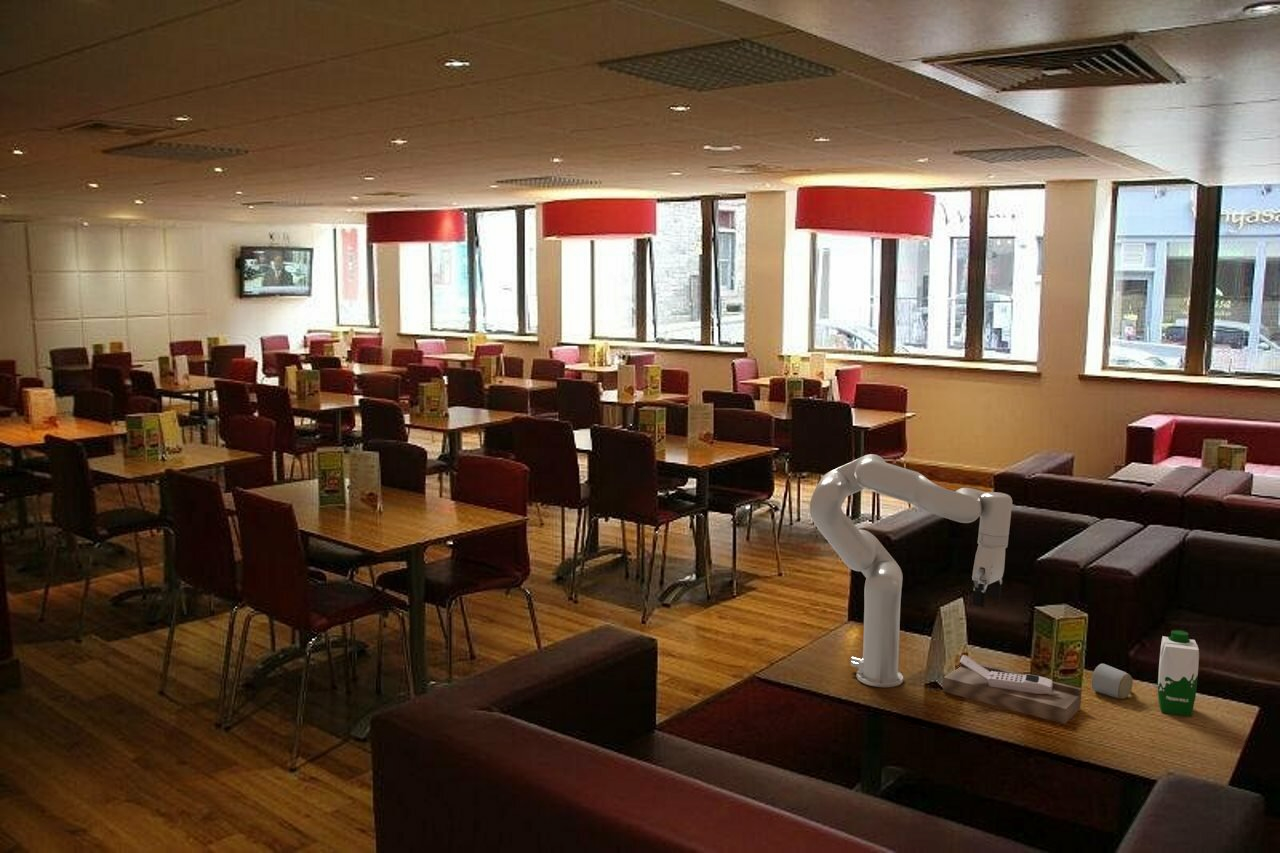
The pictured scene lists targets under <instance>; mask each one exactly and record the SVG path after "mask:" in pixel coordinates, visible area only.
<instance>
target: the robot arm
mask: <svg viewBox="0 0 1280 853" xmlns="http://www.w3.org/2000/svg"><path fill="white" fill-rule="evenodd" d="M863 490H866V491H870V492H873V493H876V494H880V495H882V496H886V497H889V498H893V499H896V500H899V501H902V502H906V503H908V504H910V505H912V506H913V507H917V508H919V509H921V510H923V511H926V512H927V513H930V514H933V515H935V516H938V517H941V518H945V519H948V520H951V521H954V522H958V523H963V524H969V523H970V524H971V523H973V522H975V521H976V520H977V519H978V518H979V526H978V537H977V544H978V546H977V550H976V552H975V558H974V563H973V569H972V576H971V578H972V581H973V595H972V596H973V597H972V605H973V606H976V607H980V608H985V607H986V599H987V597H988V598H990V599H995V600H1000V599H1001V593H1002V584H1003V577H1004V573H1005V563H1006V562H1005V561H1006V549H1007V548H1008V545H1009V535H1010V526H1011V517H1012V507H1013V499H1012V497H1011V495H1009V494H1008V493H1003V492H999V491H998V492H995V491H990V492H988V491H983V490H979V489H977V488H976V489H975V488H971V487H961V488H958V489H957V490H951V489H948V488H945V487H943V486H940V485H937V484H936V483H934V482H933V481H931V480H930V479H928V478H927V477H926V476H925V475H923V474H921V473H920V472H918V471H915V470H912V469H907V468H905V467H901V466H899V465H895V464H892V463H888V462H886V460H885V459H884V458H883V457H882V456H880V455H878V454H873V453H870V454H865V455H863V456H861V457H859V458H857V459H854V460H851V461H850V462H848V463H845V464H843V465H841V466H838V467H837V468H835V469H832V470H830V471H828V472H826V473H825V474H824V475H823V476H822V477H821V479H820V480H819V482H818V483H817V484H816V487H815V488H814V490H813V493H812V496H811V498H810V501H809V514H810V517H811V519H812V522H813V523H814V526H815V527H816V528H817V529H818V531H819V532H820V533H821V535H822V536H823V537H824V538H825V540H826V541H827V543H828V544H829V545H830V547H831V548H832V549H833V551H834V552H836V554H837V555H838V556H839V558H840V559H841V560H842V561H843V564H845V565H846V567H848V568H849V569H850V570H853V571H854V572H861V573H862V574H863V576H864V577H865V578H866V579H865V583H864V589H863V590H864V595H863V596H864V606H863V607H864V610H863V611H864V612H863V639H862V640H863V645H862V658H859V657H856V656H851V658H850V666H851V667H854V668H858V670H857V671H856V678H857V680H858V681H859V682H860V683H862V684H864V685H867V686H871V687H876V688H895V687H897V686H900V685H902V683H903V682H904V676H903V674H902V673H901V672H900V671H898V670H899V652H900V651H899V648H900V628H901V627H900V624H901V623H900V621H901V599H902V587H903V580H904V579H903V572H902V569H901V566H899V564H898V563H897V561H896V560H895V559H894V557H892V555H891V554H890V552H888V550H887V549H886V548H885V547H884V545H883V544H882V542H880V541H879V539H878V538H877V537H876V536H875V535H874V534H873V533H871V532H870V531H868V530H865V529H858V528H857V527H856V525H855V524H854V523H853V521H852V520H851V518H849V517H848V515H846V514H845V513H844V511H843V509H842V505H843V504H844V502H845V501H846V499H847V497H849V496H852V495H853V494H856V493H858V492H861V491H863ZM987 588H988V590H987ZM986 590H987V592H986Z"/></svg>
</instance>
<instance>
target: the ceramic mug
mask: <svg viewBox="0 0 1280 853" xmlns="http://www.w3.org/2000/svg"><path fill="white" fill-rule="evenodd" d="M1133 681H1134V680H1133V677H1132V675H1130V673H1127V671H1123V670H1120V669H1118V668H1116V667H1113V666H1110V665H1109V664H1105V663H1100V664H1098V665H1097V666H1096V667H1095V668H1094V671H1093V674H1092V676H1091V688H1092V690H1093V691H1094V692H1098V693H1100V694H1103V695H1106V696H1108V697H1112V698H1115V699H1118V700H1124V699H1126V698H1127V697H1129V695H1130V693H1131V692H1132V689H1133V683H1134V682H1133Z"/></svg>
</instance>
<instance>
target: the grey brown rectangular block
mask: <svg viewBox="0 0 1280 853" xmlns="http://www.w3.org/2000/svg"><path fill="white" fill-rule="evenodd" d="M977 663H978V664H979V665H981V666H982V667H984V668H985V669H987V670H988V671H990V672H991V671H993V672H994V671H995V672H1003V673H1011V674H1020V675H1026V674H1024V673H1020V672H1015V671H1012V670H1007V669H1003V668H999V667H997V666H996V667H995V666H991V665H987V664H984V663H983V664H982V663H979V662H977ZM958 667H959V666H958ZM955 669H956V668H955ZM953 670H954V669H953ZM953 670H951V671H950V672H951V673H950V672H949V673H948V674H946V675H945V676H944V677H943V679H942V681H943V684H942V685H943V686H942V692H943V693H947V694H951V695H953V696H959V697H963V698H966V699H970V700H974V701H978V702H980V703H981V702H982V703H984V704H989V705H992V706H996V707H1000V708H1003V709H1008V710H1010V711H1015V712H1019V713H1022V714H1027V715H1029V716H1033V717H1038V718H1040V719H1041V718H1042V719H1044V720H1048V721H1052V722H1055V721H1056V722H1057V723H1059V722H1060V724H1064V725H1065V724H1067V723H1068V722H1069V721H1070V720H1071V718H1073V717H1074V716H1075V714H1077V713H1078V711H1079V710H1081V705H1082V704H1081V703H1082V702H1081V701H1082V687H1078V686H1072V685H1071V684H1070V685H1069V684H1064V683H1060V682H1058V681H1053V686H1052V691H1053V692H1059V693H1060V694H1059V696H1058V695H1049V694H1034V693H1027V692H1021V691H1014V690H1008V689H1002V688H995V687H990V686H989V685H988V680H986V679H984V678H983V677H981V676H980V675H978V674H977V673H975V672H974V671H972V670H971V669H969V668H968V667H966V666H965V665H963V664H962V663H961V667H959V668H958V669H956V670H954V671H953Z"/></svg>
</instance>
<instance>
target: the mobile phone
mask: <svg viewBox="0 0 1280 853" xmlns="http://www.w3.org/2000/svg"><path fill="white" fill-rule="evenodd" d="M960 663H962V664H963V665H965V666H966V667H968V668H969V669H971V670H972V671H974V672H975V673H977V674H978V675H980V676H981V677H983V678H984V679H986V680H988V685H989V686H990V687H995V688H1002V689H1008V690H1014V691H1021V692H1027V693H1034V694H1049V695H1058V696H1059V694H1060V693H1059V692H1053V691H1052V686H1053V682H1054V681H1053V680H1052V679H1051V678H1047V677H1044V676H1040V675H1035V674H1029V673H1028V674H1025V675H1020V674H1021V673H1020V674H1011V673H1003V672H995V671H994V672H993V671H991V672H990V671H988V670H987V669H985V668H984V667H982V666H981V665H979V664H980V663H979V662H976V661H975V660H974V659H972V658H970V657H969V656H967V655H966V654H962V655H961V657H960V659H959V664H960ZM978 663H979V664H978Z"/></svg>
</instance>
